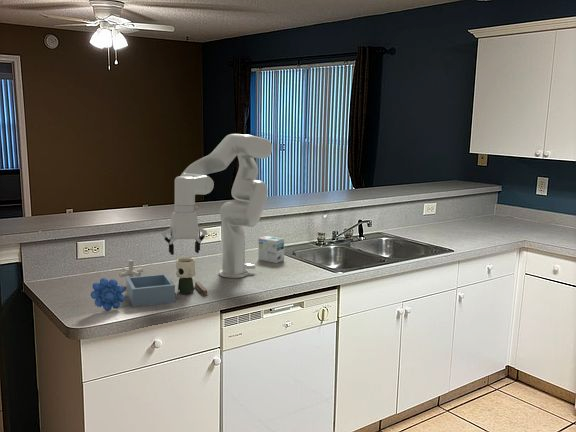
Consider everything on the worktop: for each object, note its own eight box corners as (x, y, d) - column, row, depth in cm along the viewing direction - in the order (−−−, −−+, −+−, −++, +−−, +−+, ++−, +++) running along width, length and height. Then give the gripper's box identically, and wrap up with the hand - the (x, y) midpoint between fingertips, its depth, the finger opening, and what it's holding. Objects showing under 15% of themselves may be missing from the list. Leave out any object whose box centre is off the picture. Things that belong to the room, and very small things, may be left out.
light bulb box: (284, 260, 273) (284, 238, 271) (276, 263, 267) (277, 240, 265) (265, 256, 278) (266, 235, 276) (257, 259, 272) (258, 237, 270)
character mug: (171, 290, 225) (170, 258, 223) (187, 287, 230) (187, 255, 227) (184, 298, 217) (183, 264, 215) (201, 294, 221) (200, 261, 219)
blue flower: (93, 317, 196) (92, 283, 194) (89, 310, 202) (88, 277, 199) (128, 311, 201) (127, 278, 199) (123, 305, 207) (122, 273, 205)
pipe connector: (134, 279, 238) (133, 255, 236) (149, 284, 232) (148, 260, 230) (113, 284, 231) (112, 260, 229) (128, 290, 225) (127, 265, 223)
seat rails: (199, 286, 231) (198, 281, 231) (207, 295, 221) (207, 290, 220) (165, 289, 226) (165, 284, 226) (171, 299, 215) (171, 294, 215)
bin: (166, 289, 226) (166, 273, 225) (175, 302, 212) (174, 285, 211) (126, 294, 220) (126, 277, 219) (132, 307, 206) (132, 289, 205)
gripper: (204, 206, 224) (203, 249, 227) (159, 208, 217) (159, 252, 220) (209, 209, 217) (209, 254, 220) (163, 211, 210) (163, 257, 213)
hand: (184, 253), depth 220 cm, fingers open, 9 cm apart
